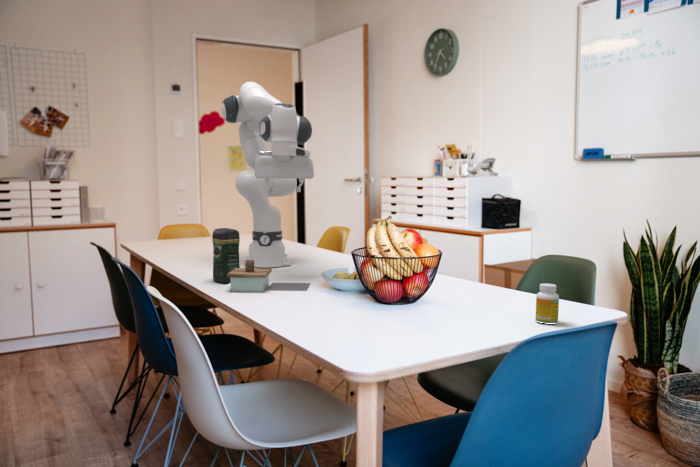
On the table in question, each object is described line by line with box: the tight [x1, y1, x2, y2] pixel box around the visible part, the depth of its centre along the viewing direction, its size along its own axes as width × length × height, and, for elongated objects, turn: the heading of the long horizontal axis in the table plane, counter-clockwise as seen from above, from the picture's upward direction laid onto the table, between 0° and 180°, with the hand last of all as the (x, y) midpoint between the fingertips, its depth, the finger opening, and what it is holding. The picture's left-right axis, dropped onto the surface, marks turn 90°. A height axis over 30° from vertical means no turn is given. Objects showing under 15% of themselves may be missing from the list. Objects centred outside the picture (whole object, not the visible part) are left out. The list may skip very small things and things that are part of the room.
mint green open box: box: [230, 274, 270, 293], centre depth 184 cm, size 10×10×5 cm
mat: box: [266, 282, 312, 292], centre depth 188 cm, size 13×13×1 cm
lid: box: [227, 259, 272, 278], centre depth 183 cm, size 12×12×4 cm
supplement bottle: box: [535, 282, 560, 324], centre depth 145 cm, size 5×5×10 cm
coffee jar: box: [211, 227, 241, 284], centre depth 198 cm, size 10×8×19 cm
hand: (284, 192), depth 197 cm, fingers open, 8 cm apart
